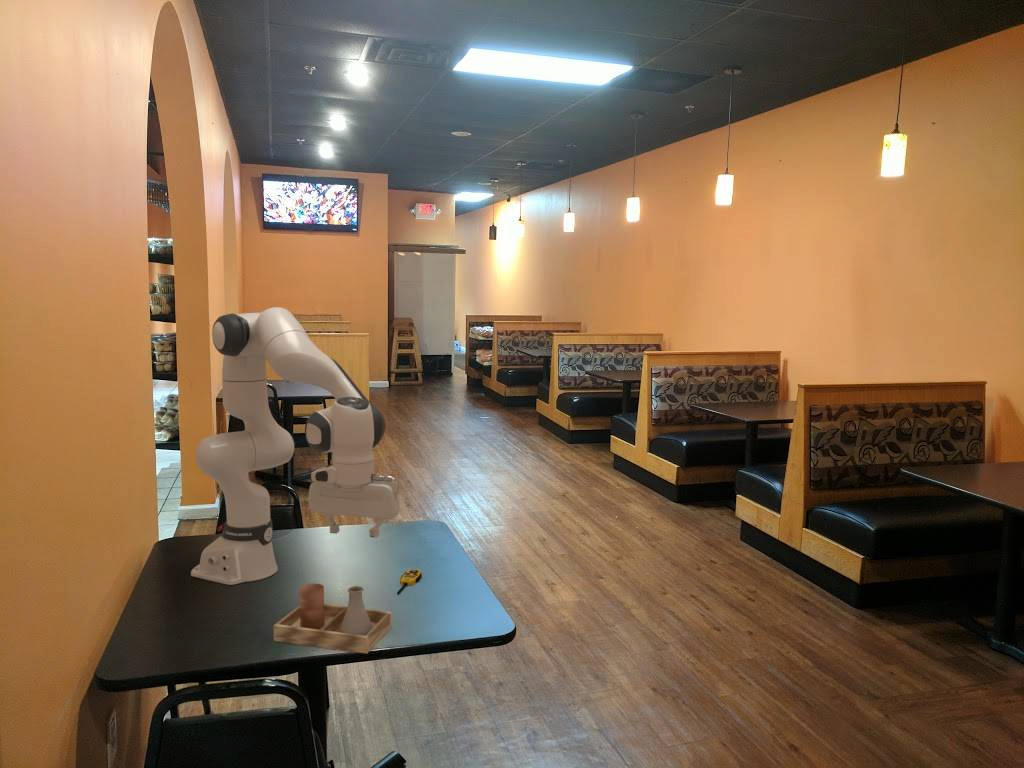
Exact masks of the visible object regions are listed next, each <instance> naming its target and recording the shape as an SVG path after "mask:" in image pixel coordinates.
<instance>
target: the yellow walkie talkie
mask: <svg viewBox="0 0 1024 768" xmlns="http://www.w3.org/2000/svg"><path fill="white" fill-rule="evenodd" d="M421 579H422V570H421V569H419V568H411V569H409V570H408V571H405V572H404V573H403V574H402V575H401V577H400V582H399V584H400V586H401V587H400V588H399V590H398V591H397V592H396V594H397V595H399V594H400V593H401V592H402V591H403V589H404V588H405V587H412V586H414V585H416V584H417V583H419V582H420V581H421Z"/></svg>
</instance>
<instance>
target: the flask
mask: <svg viewBox="0 0 1024 768" xmlns="http://www.w3.org/2000/svg"><path fill="white" fill-rule="evenodd" d="M364 590H365V589H364V587H362V586H360V585H355V586H354V585H353V586H350V587H349V588H348V589H347V592H348V602H347V603H348V604H347V606H346V607H347V610H346V613H345V616H344V619H343V621H342V624H341V627H340V629H339V632H341V633H348V634H356V635H364V636H365V635H366V634H367V633H368V632H369V631H370V630H371V629H372V628H373V626H372V624H371V621H370V619H369V617H368V614H367V612H366V609H367V608H366V607H365V604H364V598H363V591H364Z"/></svg>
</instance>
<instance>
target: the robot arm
mask: <svg viewBox="0 0 1024 768" xmlns="http://www.w3.org/2000/svg"><path fill="white" fill-rule="evenodd" d="M301 324H302V323H300V320H299V319H298V318H297V317H296V316H295V315H294V314H293V313H291V312H290V311H289V310H288V309H287V308H284V307H280V306H274V307H270V308H267V309H265V310H263V311H256V312H243V313H237V314H236V313H227V314H224V315H221V316H219V317H217V319H216V320H215V321H214V323H213V325H212V330H211V331H212V332H211V333H212V334H211V336H212V343H213V346H214V347H215V349H216V350H217V352H219V354H221V355H223V358H222V369H221V370H222V371H221V378H222V379H221V381H222V406H223V408H224V410H225V412H226V413H227V414H228V415H230V416H232V417H234V418H236V419H240V420H242V421H243V423H244V430H241V431H232V432H231V431H230V432H224V433H218V434H215V435H211V436H208V437H205V438H202V439H201V440H200V442H199V443H198V445H197V447H196V449H195V454H194V455H195V456H194V457H195V458H194V459H195V462H196V465H197V467H198V468H199V470H200V471H201V472H202V473H204V475H207V476H208V477H210V478H211V479H213V480H214V481H215V482H216V483H217V484H218V486H219V487H220V489H221V491H222V493H223V496H224V501H225V502H224V503H225V511H226V522H223V524H221V525H219V526H217V528H218V529H217V531H218V532H219V531H222V532H221V534H220V536H219V537H217V539H214V540H213V542H211V543H209V544H208V545H207V546H206V547H205V548H204V549H203V550H202V553H200V554H201V555H200V559H199V560H200V561H199V564H197V565H196V566H194V567H193V568H192V569H191V571H190V576H191V577H194V578H199V579H201V580H202V579H203V580H206V581H211V582H215V583H219V584H224V585H228V586H231V585H237V584H241V583H245V582H253V581H259V580H263V579H266V578H269V577H271V576H272V575H274V574H276V573H277V572H278V570H279V567H278V564H277V561H276V558H275V557H276V556H275V554H274V553H275V552H274V547H273V519H272V518H271V499H270V497H271V496H270V494H269V491H268V489H267V488H266V487H264V486H263V485H261V484H258V483H255V482H253V481H251V480H250V478H249V477H250V475H249V473H250V472H254V471H261V470H266V469H267V470H268V469H273V468H276V467H279V466H282V465H285V464H286V463H289V461H291V459H292V458H293V455H294V452H295V441H294V439H293V436H292V435H291V433H290V432H289V431H288V430H286V429H285V428H284V427H282V426H281V425H280V424H278V422H277V421H276V420H275V419H274V417H273V414H272V412H271V409H270V406H269V397H268V379H267V378H268V377H267V374H268V373H267V363H268V365H269V366H270V368H271V369H272V371H273V372H274V373H275V375H277V376H278V377H279V378H281V379H283V380H285V381H288V382H292V383H298V384H304V385H305V384H306V385H310V386H315V387H317V388H321V389H324V390H326V391H327V392H329V393H330V394H331V395H332V396H333V398H334V399H335V401H334V403H333V404H332V405H330V406H329V407H326V408H323V409H319V410H317V411H314V412H312V413H311V414H310V415H309V417H308V418H307V420H306V422H305V425H304V436H305V441H306V443H307V445H308V446H309V447H310V449H312V450H314V451H315V452H316V453H326V454H328V453H332V454H333V455H332V464H328V465H325V466H322V467H319V468H318V469H316V470H313V471H312V472H311V475H310V477H311V478H310V479H311V480H312V482H311V484H310V486H309V490H308V508H309V510H310V511H311V513H316V514H317V513H318V514H324V519H325V521H326V523H327V524H328V526H329V533H330V534H336V535H337V534H338V533H339V532H340V523H337V522H336V521H335V518H334V517H335V516H336V515H337V516H338V515H339V516H348V517H359V518H370V519H373V523H374V524H375V525H374V527H371V528H370V529H369V530H368V531H369V535H368V536H369V537H370V538H375V539H376V538H378V537H379V535H380V528H381V526H382V524H383V522H385V520H388V521H389V520H393V519H395V518H396V517H397V516H398V515H399V514H400V512H401V511H400V508H401V507H400V498H399V492H400V491H399V490H400V487H399V486H400V485H399V482H398V480H397V479H396V478H394V477H393V476H392V475H383V474H382V475H381V474H375V455H374V451H373V448H376V446H377V445H378V444H379V443H380V441H381V440H382V439H383V437H384V435H385V432H386V428H387V424H386V420H385V417H384V415H383V414H382V411H381V410H380V409H379V408H378V407H377V406H376V405H375V404H373V403H372V402H371V401H370V400H369V399H368V398H367V397H366V396H365V395H364V394H363V392H362V391H361V390H360V388H359V387H358V385H357V384H356V383H355V382H354V381H353V379H352V378H351V377H350V376H349V374H348V373H347V372H346V371H345V370H344V369H343V367H342V366H341V365H340V364H339V363H338V361H336V360H335V359H334V358H332V357H330V356H329V355H327V354H326V353H324V352H323V351H322V350H321V349H320V348H319V347H318V346H316V345H315V343H314V342H313V341H312V340H311V339H310V337H309V335H308V333H307V332H306V330H305V329H304V327H303V325H301Z"/></svg>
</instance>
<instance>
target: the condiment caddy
mask: <svg viewBox="0 0 1024 768" xmlns="http://www.w3.org/2000/svg"><path fill="white" fill-rule="evenodd" d="M324 593H325V587H324V585H323V584H321V583H309V584H304V585H302V586H301V587H299V605H298V606H297V607H296V608H294V609H293V610H292V611H290V612H289V613H288V614H286V615H285V616H284V617H282V618H281V619H280V620H278V621H277V622H276V623H275V624H273V625H272V627H273V641H274V642H279V643H287V644H294V645H301V646H302V645H303V646H307V647H308V646H309V647H317V648H323V649H330V650H337V651H338V650H339V651H343V652H345V651H346V652H351V653H352V652H353V653H359V654H366V655H367V654H368V653H369V652H370V651H371V650H372V649H373V648H374V647H375V646H376V645H377V644H378V642H379V641H380V640H382V638H383V637H384V636H385V635H386V634H387V633H388V631H390V630H391V628H392V627H393V625H392V624H393V620H392V618H393V617H392V614H393V612H392V611H387V610H386V611H384V610H376V609H368V608H365V609H366V612H367V614H368V617H369V619H370V621H371V624H372V626H373V628H372V629H371V630H370V631H369V632H368V633H367V634H366V635H365V636H364V635H356V634H348V633H341V632H339V629H340V627H341V624H342V621H343V619H344V616H345V613H346V610H347V607H348V606H345V605H337V604H335V605H334V604H329V603H327V604H326V603H325V594H324Z"/></svg>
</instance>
